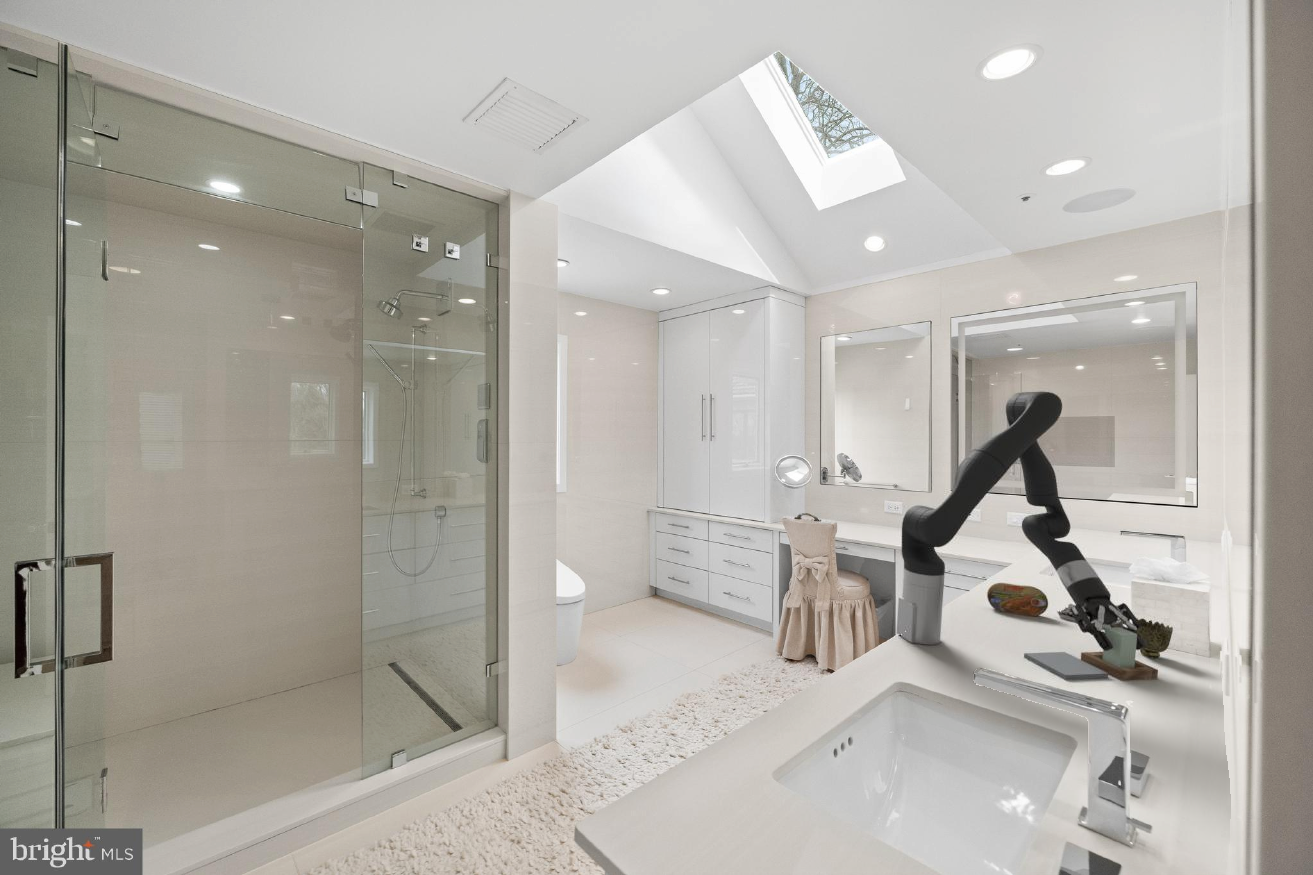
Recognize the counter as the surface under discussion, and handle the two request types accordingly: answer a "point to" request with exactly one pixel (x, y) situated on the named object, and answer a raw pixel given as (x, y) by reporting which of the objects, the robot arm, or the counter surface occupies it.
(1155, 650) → the cup
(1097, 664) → the walnut pocket
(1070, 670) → the slate coaster
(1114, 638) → the sage block
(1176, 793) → the counter surface
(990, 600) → the tin
